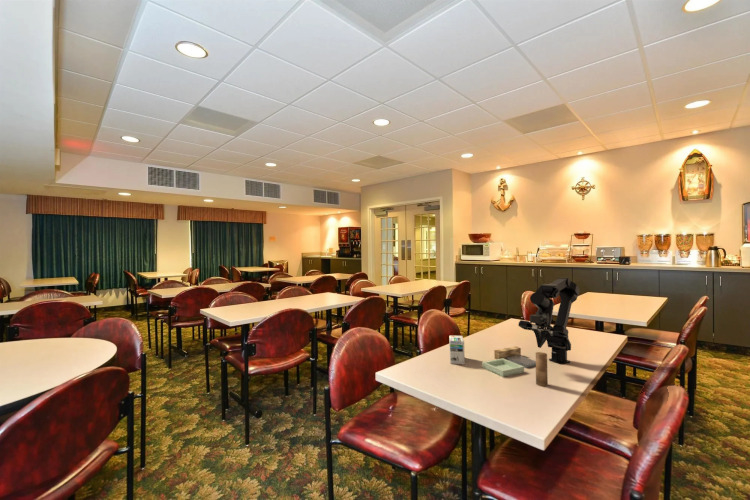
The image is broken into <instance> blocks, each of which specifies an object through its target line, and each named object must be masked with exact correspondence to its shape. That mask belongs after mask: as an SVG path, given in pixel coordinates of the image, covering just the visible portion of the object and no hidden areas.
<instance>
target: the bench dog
mask: <svg viewBox="0 0 750 500" xmlns="http://www.w3.org/2000/svg"><path fill="white" fill-rule="evenodd" d="M493 351H494V352H493V353H494V355H493V357H494V360H497V359H502V358H503V359H505V357H508V356H513V355H520V356H522V348H521V347H519V346H511V347H506V348H505V347H504V348H500V349H499V348H498V349H494V350H493Z"/></svg>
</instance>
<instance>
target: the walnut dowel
mask: <svg viewBox="0 0 750 500" xmlns="http://www.w3.org/2000/svg"><path fill="white" fill-rule="evenodd" d="M535 361H536V366H535V384H536V386H538V387H544V388H545V387H548V386H549V385H548V381H549V380H548V378H549V377H548V354H547V353H546V352H543V351H536V352H535Z"/></svg>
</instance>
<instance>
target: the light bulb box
mask: <svg viewBox="0 0 750 500" xmlns="http://www.w3.org/2000/svg"><path fill="white" fill-rule="evenodd" d="M463 336H464V335H453V334H452V335H449V338H448V339H449V340H448V341H449V343H448V344H449V360H450V361H449V363H450V364H452V365H453V364H454V365H465V359H466V358H465V357H466V356H465V340H464V337H463Z"/></svg>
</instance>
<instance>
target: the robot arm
mask: <svg viewBox="0 0 750 500" xmlns="http://www.w3.org/2000/svg"><path fill="white" fill-rule="evenodd" d="M579 295H580V288H579V286H578V284H576V283H575V282H573V281H572V280H571V278H568V277H558V278H557V279H555V280H554V281H552V282H551V283H544V284H542V283H541V284H540V286H539V287H538V288H537V289H536V291H534V292H533V293H532V294H531V295H530V297H529V300H530V302H531V303H532V304H533V305H534V306H535V307H536V308H538V309H537V311H535V314H530V315H529V321H528V320H522V319H521V320H519V322H518V323H517V325H518V327H519V328H521V329H523V330H526V331H532V332H533V333H534V337H535V339H536V345H537V347H538V348H539V349H541V348H542V347H543V345H544V344H545V343H546V344H547V347H548V348H551V358H548V360H549V361H551V362H554V363H557V364H560V365H564V364H568V363H569V364H570V363H571V360H569V359H568V351H571V350H572V343H571V341H570V339H569V329H568V328H567V326H568V322H569V317H570V313H571V308H572V306H573V305H572V304H573V303H574V302H576V301H577V300H578V297H579ZM558 297H560V302H559V307H558V310H557V315H556V319H555V324H554V325H553V326H552V325H551V324H552V320H553V319H554V317H553V311H554V307H555V302H554V299H557V298H558Z"/></svg>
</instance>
